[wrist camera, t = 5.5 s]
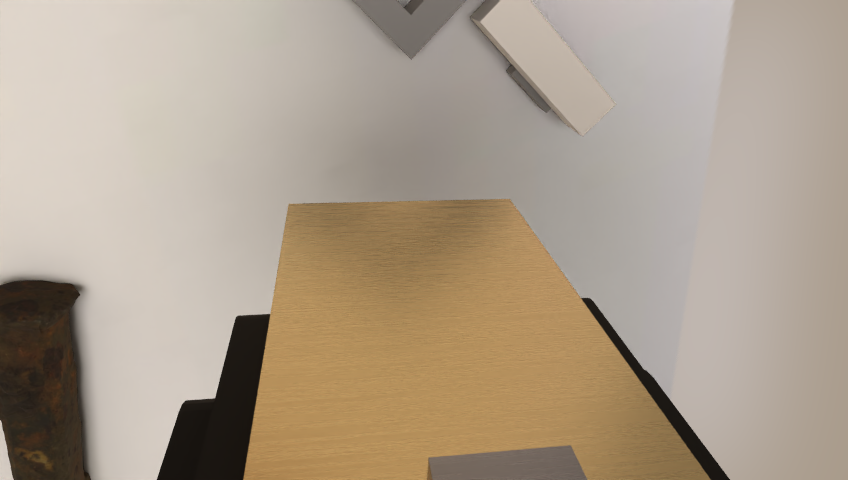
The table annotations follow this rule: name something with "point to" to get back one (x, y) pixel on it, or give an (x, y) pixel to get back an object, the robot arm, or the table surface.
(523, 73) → the socket
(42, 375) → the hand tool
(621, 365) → the tan wooden block
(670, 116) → the table surface
